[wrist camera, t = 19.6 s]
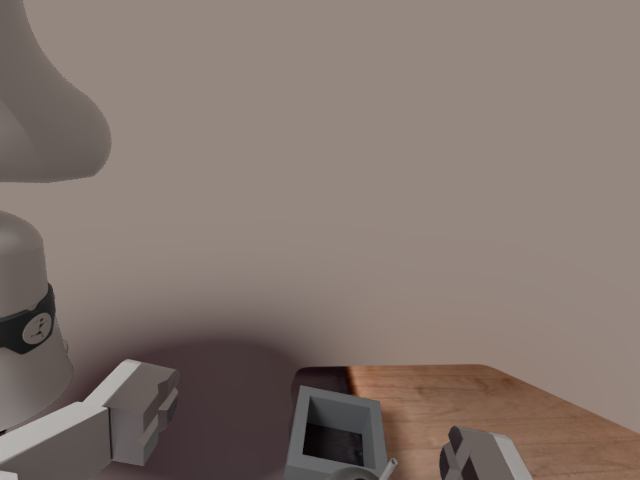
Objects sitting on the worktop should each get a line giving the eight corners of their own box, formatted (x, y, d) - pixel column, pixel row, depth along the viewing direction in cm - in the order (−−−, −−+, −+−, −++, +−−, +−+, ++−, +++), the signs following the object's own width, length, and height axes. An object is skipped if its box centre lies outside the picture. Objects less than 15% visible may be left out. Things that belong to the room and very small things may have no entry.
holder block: (280, 495, 36) (286, 465, 35) (295, 411, 47) (300, 385, 46) (379, 515, 36) (390, 486, 35) (371, 426, 47) (379, 401, 45)
